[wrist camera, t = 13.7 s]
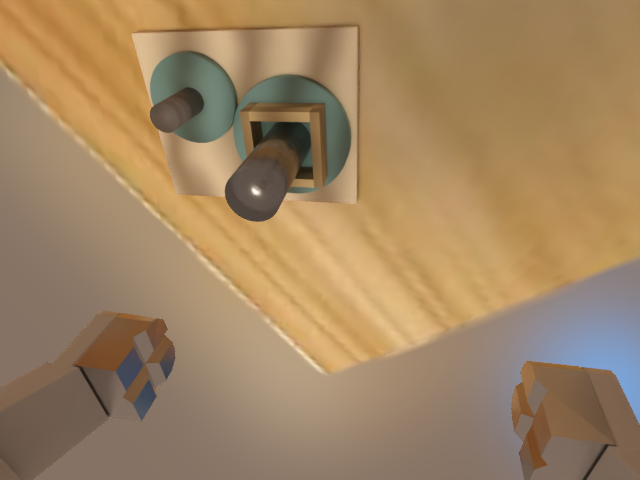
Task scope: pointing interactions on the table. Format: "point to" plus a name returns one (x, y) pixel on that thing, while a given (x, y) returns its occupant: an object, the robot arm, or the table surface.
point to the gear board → (254, 102)
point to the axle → (268, 172)
